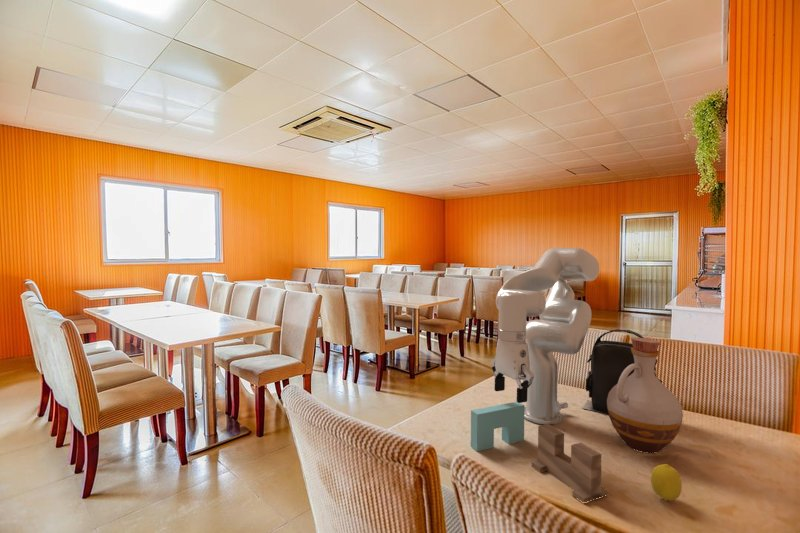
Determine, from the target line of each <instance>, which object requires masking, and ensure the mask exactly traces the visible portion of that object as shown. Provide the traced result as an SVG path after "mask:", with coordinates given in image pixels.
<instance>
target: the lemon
mask: <svg viewBox="0 0 800 533" xmlns="http://www.w3.org/2000/svg"><path fill="white" fill-rule="evenodd" d="M650 483H651V486H652V490H653V491H654V492H655V494H656V495H658V496H659V497H660V498H661V499H663V500H664V499H665V500H668V501H672V500H675V499H678V497H680V495H681V493H682V489H683V487H682V486H683V484H682V478H681V476H680V474H679V473H678V471H677V469H675V468H674V467H672V466H670V465H669V464H667V463H664V464H659V465H656V466H655V467H654V468H653V469H652V472H651V475H650ZM665 500H664V501H665Z"/></svg>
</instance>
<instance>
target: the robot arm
mask: <svg viewBox="0 0 800 533" xmlns="http://www.w3.org/2000/svg"><path fill="white" fill-rule="evenodd" d="M599 275H600V263H599V261H598V259H597V258H596V257H595V256H594V255H593V254H591V253H590V252H588V251H587V250H585V249H583V248H581V247H552V248H549V249H547V250H545V251H544V253H543V254H542V255H541V256H540V257H539V259H538V261H536V263H535V264H534V266H533V267H532V268H531V269H528V270H525V271H523V272H521V273H519V274H516V275H514V276H512V277H510V278H509V279H508V280H506V281H505V282H504V284H503V285H502V286H501V287H500V289H499V290H498V292H497V294H496V297H495V305H496V309H497V310H498V321H497V322H498V323H497V324H498V328H497V329H498V330H497V332H498V333H497V341H496V347H495V357H494V358H491V359H490V363H491V369H492V371H493V377H494V391H495V392H502V391H505V387H506V386H505V385H506V384H505V383H506V382H505V381H506V377H508V378H510V379H513V380H515V382H516V384H517V388H516V402H518V403H521V404H523V403H525V415H524V420H527V421H529V422H532V423H534V424H539V425H545V424H549V425H555V424H559V423H561V422H562V420H563V415H562V413H561V410H562V409H567V408H568V407H569V404H568V402H567V401H562V402H559V401H558V383H559V382H558V381H559V380H558V374H559V371H558V370H559V367H558V366H559V363H558V362H557V359H556V356H555V355H554V353H559V354H563V355H565V354H566V355H576V354H578V353H579V352H580V350H581V348H582V346H583V343H584V341H585V339H586V335H587V333H588V331H589V328H590V326H591V321H592V316H593V315H592V309H591V306H590V304H589V303H587V302H586V301H584V300H579V299H575V295H576V294H575V292H574V290H573V289H572V287H571V286H570V285H569V283H567V282H566V281H579V282H580V281H582V282H592V281H595V280H596V279H597V277H598V276H599ZM547 290H548V292H547V294H546V295H547V296H546V297H545V295H544V294H542V293H541V292H544V291H547ZM527 317H533V318H534V317H539V319H532V320H530V321H528V322H527ZM505 376H506V377H505ZM521 380H522V381H521Z"/></svg>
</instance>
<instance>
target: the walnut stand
mask: <svg viewBox="0 0 800 533" xmlns="http://www.w3.org/2000/svg"><path fill="white" fill-rule="evenodd" d="M537 429H538V430H537V460H534V461H533V460H532V461H531V468H533V469H535V470H536V471H537V472H539V473H543V472H548V473H549V474H551V475H552V476H553V477H554V478H556V479H557V480H559V481H560V482H562V483H563V484H565V485H566V486H568V487H569V488H570V487H571V488H570V489H572V497H573V496H575V497H576V498H578V499H579V500H581V501H582V502H587V501H590V500H593V499H596V498H599V497H602V496H605V495H607V496H608V490H607V489H605V488H603V487H602V453H601V452H599V451H597V450H596V449H593V448H592V447H590V446H589V445H587V444H584V443H582V442H578V443H573V444H571V446H570V456H569V455H568V454H566V453H565V432H563V431H561V430H560V429H558V428H556V427H554V426H552V424H539V425H538V427H537ZM573 489H574V490H573ZM576 498H575V499H576ZM579 500H578V501H579Z"/></svg>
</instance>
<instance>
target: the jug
mask: <svg viewBox="0 0 800 533" xmlns="http://www.w3.org/2000/svg"><path fill="white" fill-rule="evenodd" d="M630 340H631V344H632V345H633V348H631V351H632V353H633V356H634V362H635V364H631V365H629V366H628V367H626V368H625V370H624V371H623V372H622V374H621V376H620V378H619V381H618V384H616V385H615V386H614V387H613V388H612V389H611V390H610V392H609V394H608V398H607V408H608V413H609V414H608V415H609V416H608V417H609V419H610V423H611V424H612V427H613V429H614V430H615V432H616V433H617V435H618V436H619V438H621V440H622V441H623V442H624V443H625V445H626V446H628V448H630V449H632V450H634V449H635V450H634V451H636V450H638V451H637V452H639V451H642V452H641V453H643V452H648V453H647V454H655V453H654V452H657V453H659V452H660V451H662V450H663V449H665V448H666V447H667V446H668V445H670V444H671V443H672V442H673V441H674V440H675V439H676V437H677V435H678V433H679V431H680V430H681V429H680V428H681V426H682V422H683V419H684V418H683V417H684V411H683V407H682V404H681V402H680V401H679V399H678V397H677V396H676V395H675V394H674V393H673V392H672V391H671V390H670V389H669V388H668V387H666V386H665V385H664V384H663V382H662V383H661V382H660V380H661V379H659V377H657V375H656V376H655V374H654V372H655V370H654V366H655V362H656V359H657V357H659V355H660V351H659V350H658V348H659V347H660V344H661V341H659V340H656V339H651V338H645V337H644V338H639V337H636V336H635V337H631V338H630ZM655 367H656V366H655ZM634 369H635V370H634ZM632 370H634V373H632V374H631V375H630V376H628V375H629V373H630V372H631V371H632ZM627 376H628V377H627Z"/></svg>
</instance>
